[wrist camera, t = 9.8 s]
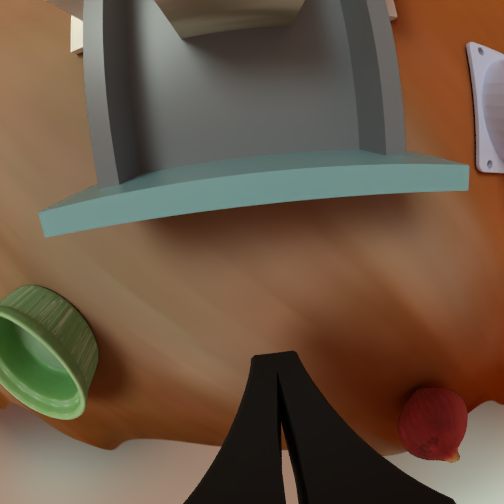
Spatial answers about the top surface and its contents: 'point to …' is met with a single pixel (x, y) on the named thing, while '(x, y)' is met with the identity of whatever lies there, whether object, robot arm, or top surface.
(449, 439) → the onion
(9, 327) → the ramekin
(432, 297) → the top surface
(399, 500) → the robot arm
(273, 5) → the block
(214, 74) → the tray
